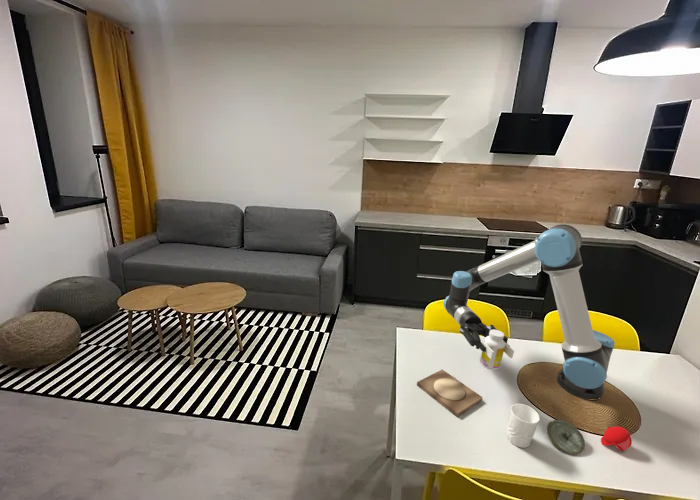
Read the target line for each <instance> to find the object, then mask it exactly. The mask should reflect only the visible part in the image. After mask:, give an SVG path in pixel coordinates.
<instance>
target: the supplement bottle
mask: <svg viewBox="0 0 700 500" xmlns="http://www.w3.org/2000/svg"><path fill="white" fill-rule="evenodd" d="M504 336H505V333H504V332H502V331H500V330H499V329H497V330H494V329H493V330H490V332H489V336H487V337H484V340H483V341H484V342H485V343H486V344H487V345H488V346H489V347H490V348H491V349H492V350H493V351H494V356H493V359H490V358H489V357H488V356H487V355H486V354H485V352H483V351H481V354H480V361H479V362H480V364H481V365H482V366H483V367H484V368H486V369H488V370H493V371H496V370H499V369H500V368H501V364H502V360H503V355H504V353H505V352H504V348H505V342H504V340H503V338H504Z"/></svg>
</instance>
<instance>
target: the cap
mask: <svg viewBox="0 0 700 500" xmlns="http://www.w3.org/2000/svg"><path fill="white" fill-rule="evenodd" d="M601 442H602V443H601ZM600 443H601V445H603V446H605V447H606V446H607V447H609V446H612V445H613V446H615V447H616V448H617V449H618V451H620V450H621V451H623V452H625V451H627V450H628V449H629V448H630V447H631V446H632V443H633V439H632V437H631V433H630V432H629V431H628V430H627V429H626V428H624V427H622V426H608V427H607V429H606V430H605V431H604V432H603V435H602V436H601V438H600ZM621 451H620V452H621Z"/></svg>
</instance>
